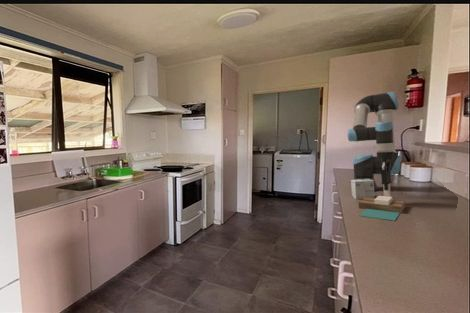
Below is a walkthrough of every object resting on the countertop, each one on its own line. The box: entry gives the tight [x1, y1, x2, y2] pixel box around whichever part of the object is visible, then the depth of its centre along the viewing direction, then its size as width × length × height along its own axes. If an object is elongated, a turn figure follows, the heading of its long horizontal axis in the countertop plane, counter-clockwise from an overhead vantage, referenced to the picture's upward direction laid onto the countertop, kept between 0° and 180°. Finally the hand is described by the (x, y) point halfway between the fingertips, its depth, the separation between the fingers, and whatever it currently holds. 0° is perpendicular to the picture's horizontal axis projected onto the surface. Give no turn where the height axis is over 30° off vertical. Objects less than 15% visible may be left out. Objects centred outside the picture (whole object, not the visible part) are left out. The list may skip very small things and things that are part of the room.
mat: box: [358, 209, 401, 222], centre depth 108 cm, size 12×14×1 cm
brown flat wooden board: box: [358, 197, 407, 214], centre depth 117 cm, size 12×18×3 cm, turn 46°
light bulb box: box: [350, 179, 376, 200], centre depth 138 cm, size 11×7×11 cm, turn 84°
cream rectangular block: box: [374, 195, 394, 205], centre depth 116 cm, size 9×6×2 cm, turn 136°
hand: (387, 195), depth 122 cm, fingers closed
